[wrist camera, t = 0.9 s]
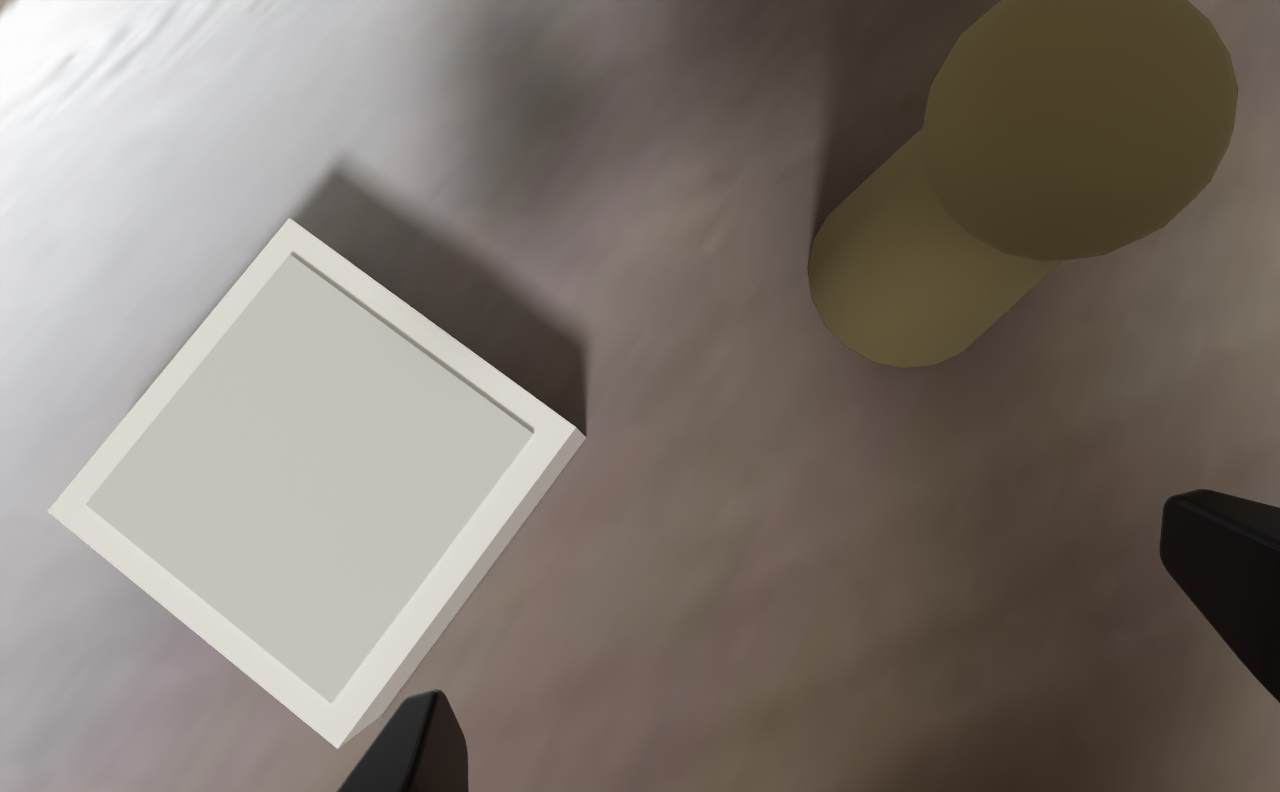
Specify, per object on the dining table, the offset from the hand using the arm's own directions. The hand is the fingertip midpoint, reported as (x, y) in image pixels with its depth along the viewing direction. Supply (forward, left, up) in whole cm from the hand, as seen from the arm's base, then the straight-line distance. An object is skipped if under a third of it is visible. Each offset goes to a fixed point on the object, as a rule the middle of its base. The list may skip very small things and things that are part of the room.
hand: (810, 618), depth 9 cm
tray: (+10, +5, -13) cm, 17 cm away
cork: (0, -10, -13) cm, 17 cm away
